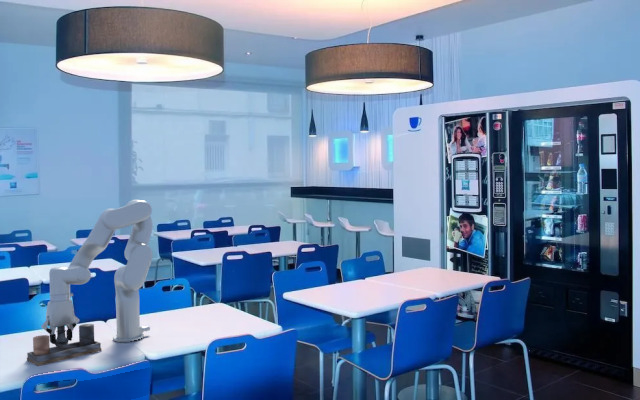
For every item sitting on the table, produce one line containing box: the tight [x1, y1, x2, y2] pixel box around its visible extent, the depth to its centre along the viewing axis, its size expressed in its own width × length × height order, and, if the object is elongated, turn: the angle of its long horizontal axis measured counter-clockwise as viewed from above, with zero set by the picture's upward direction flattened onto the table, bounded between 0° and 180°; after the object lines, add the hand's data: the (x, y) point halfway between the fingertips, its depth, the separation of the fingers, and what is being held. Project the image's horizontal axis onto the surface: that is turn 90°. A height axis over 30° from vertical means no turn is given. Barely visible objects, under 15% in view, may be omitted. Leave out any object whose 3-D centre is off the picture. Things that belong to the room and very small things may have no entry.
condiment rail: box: [26, 323, 102, 367], centre depth 236 cm, size 25×10×10 cm, turn 138°
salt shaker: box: [54, 325, 69, 347], centre depth 246 cm, size 6×6×12 cm
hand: (61, 341), depth 246 cm, fingers closed on salt shaker, 5 cm apart
